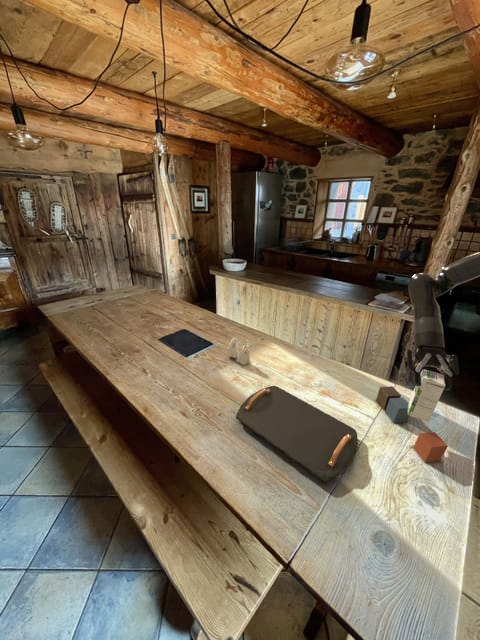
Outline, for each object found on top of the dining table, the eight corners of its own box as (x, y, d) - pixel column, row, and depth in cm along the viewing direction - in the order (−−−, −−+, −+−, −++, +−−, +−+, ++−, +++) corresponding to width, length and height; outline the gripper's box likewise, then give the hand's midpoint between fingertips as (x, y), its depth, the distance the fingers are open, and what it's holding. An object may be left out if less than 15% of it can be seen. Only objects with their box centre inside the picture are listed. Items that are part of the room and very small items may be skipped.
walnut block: (388, 399, 102) (392, 386, 99) (396, 409, 98) (401, 395, 95) (375, 400, 102) (380, 387, 99) (383, 410, 97) (388, 396, 94)
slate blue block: (398, 411, 97) (403, 397, 94) (407, 421, 92) (412, 407, 90) (385, 412, 96) (389, 398, 94) (393, 422, 92) (398, 408, 89)
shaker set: (225, 357, 127) (224, 337, 122) (230, 353, 130) (230, 333, 125) (245, 366, 120) (245, 345, 115) (250, 362, 123) (251, 342, 118)
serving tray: (365, 441, 85) (369, 427, 82) (333, 496, 69) (337, 481, 67) (267, 386, 108) (268, 374, 105) (228, 418, 92) (227, 405, 90)
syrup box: (407, 404, 87) (421, 368, 81) (429, 411, 85) (444, 374, 78) (407, 415, 83) (421, 378, 77) (429, 423, 80) (446, 385, 74)
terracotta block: (428, 446, 83) (434, 431, 81) (440, 461, 79) (448, 446, 76) (413, 447, 83) (419, 433, 80) (424, 462, 78) (431, 447, 76)
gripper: (408, 328, 80) (412, 383, 75) (461, 333, 78) (469, 390, 73) (398, 335, 87) (400, 385, 82) (446, 339, 85) (451, 392, 80)
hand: (432, 387), depth 77 cm, fingers closed on syrup box, 7 cm apart
